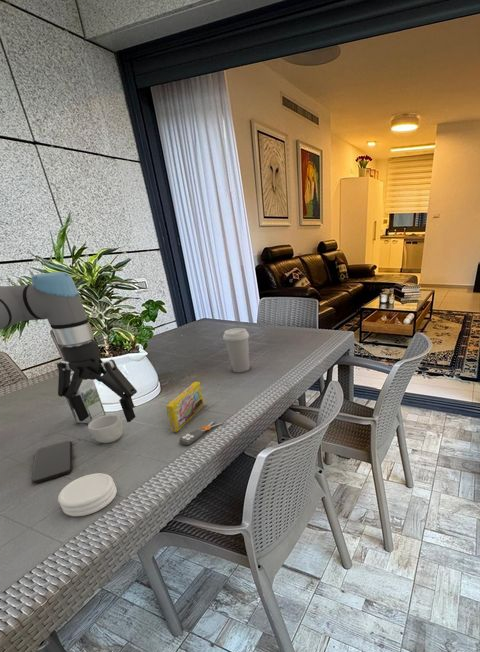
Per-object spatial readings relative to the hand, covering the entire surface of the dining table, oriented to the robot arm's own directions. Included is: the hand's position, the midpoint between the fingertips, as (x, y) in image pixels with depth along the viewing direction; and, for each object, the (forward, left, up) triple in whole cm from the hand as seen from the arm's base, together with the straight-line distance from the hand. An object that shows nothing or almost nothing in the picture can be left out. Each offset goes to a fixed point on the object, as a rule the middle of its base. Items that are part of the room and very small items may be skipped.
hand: (107, 419), depth 94 cm
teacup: (0, 0, -6) cm, 6 cm away
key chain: (+24, +3, -6) cm, 25 cm away
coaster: (+11, -24, -6) cm, 27 cm away
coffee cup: (+21, +49, -6) cm, 53 cm away
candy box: (+17, +11, -6) cm, 21 cm away
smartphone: (-8, -12, -6) cm, 16 cm away
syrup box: (-13, +9, -6) cm, 17 cm away
